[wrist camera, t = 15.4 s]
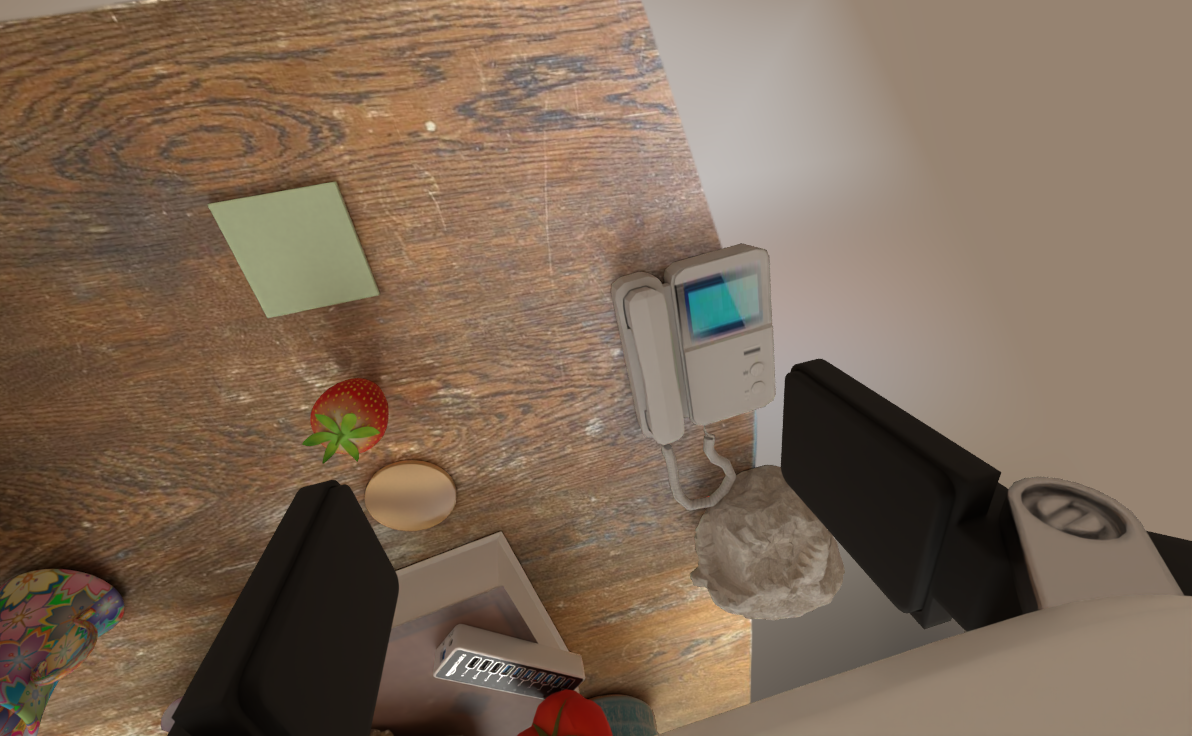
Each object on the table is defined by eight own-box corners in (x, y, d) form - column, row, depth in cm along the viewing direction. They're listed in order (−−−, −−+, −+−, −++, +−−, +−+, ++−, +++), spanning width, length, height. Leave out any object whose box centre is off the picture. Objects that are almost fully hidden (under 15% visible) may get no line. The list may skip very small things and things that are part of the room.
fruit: (401, 416, 39) (382, 476, 32) (335, 418, 38) (299, 480, 31) (395, 359, 37) (372, 410, 30) (324, 359, 36) (283, 412, 28)
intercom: (667, 531, 45) (620, 294, 34) (653, 502, 49) (606, 280, 37) (790, 491, 46) (783, 248, 35) (766, 465, 50) (754, 239, 39)
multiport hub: (559, 680, 49) (562, 704, 46) (433, 652, 43) (430, 677, 41) (583, 655, 47) (587, 678, 45) (458, 622, 41) (456, 647, 39)
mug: (60, 645, 42) (-64, 788, 32) (-32, 582, 37) (-207, 728, 28) (190, 598, 42) (106, 725, 33) (115, 531, 38) (-7, 656, 29)
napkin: (210, 203, 30) (206, 204, 29) (336, 181, 31) (334, 181, 30) (269, 316, 33) (267, 318, 33) (380, 293, 34) (379, 295, 34)
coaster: (351, 472, 40) (349, 477, 40) (441, 450, 41) (441, 454, 41) (384, 536, 44) (383, 540, 43) (466, 514, 45) (466, 518, 44)
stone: (686, 547, 41) (726, 430, 51) (670, 618, 52) (705, 511, 62) (898, 635, 35) (896, 484, 45) (829, 692, 47) (839, 562, 57)
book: (402, 743, 58) (393, 809, 53) (268, 619, 45) (236, 688, 39) (580, 672, 60) (590, 728, 54) (501, 531, 46) (503, 585, 41)
